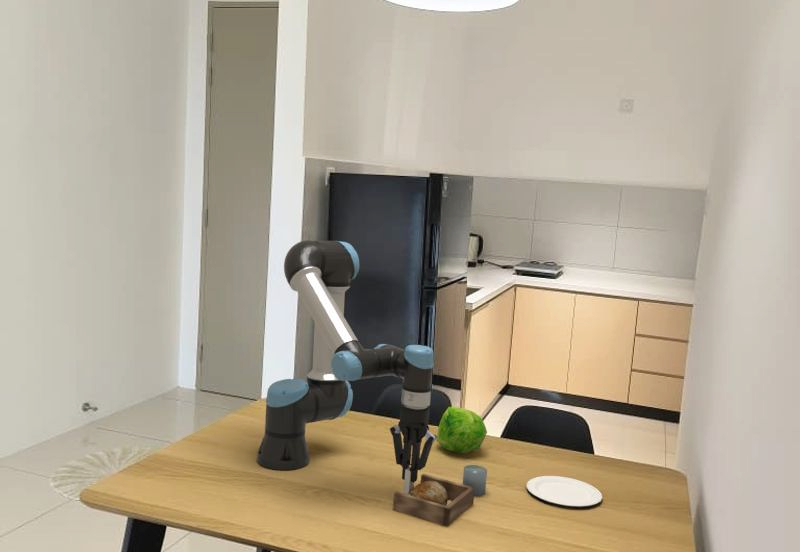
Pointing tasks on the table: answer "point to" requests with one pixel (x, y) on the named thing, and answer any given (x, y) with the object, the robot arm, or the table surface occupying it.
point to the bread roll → (430, 492)
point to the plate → (564, 491)
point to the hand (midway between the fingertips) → (408, 492)
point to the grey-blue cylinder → (475, 479)
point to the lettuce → (461, 430)
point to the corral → (432, 510)
